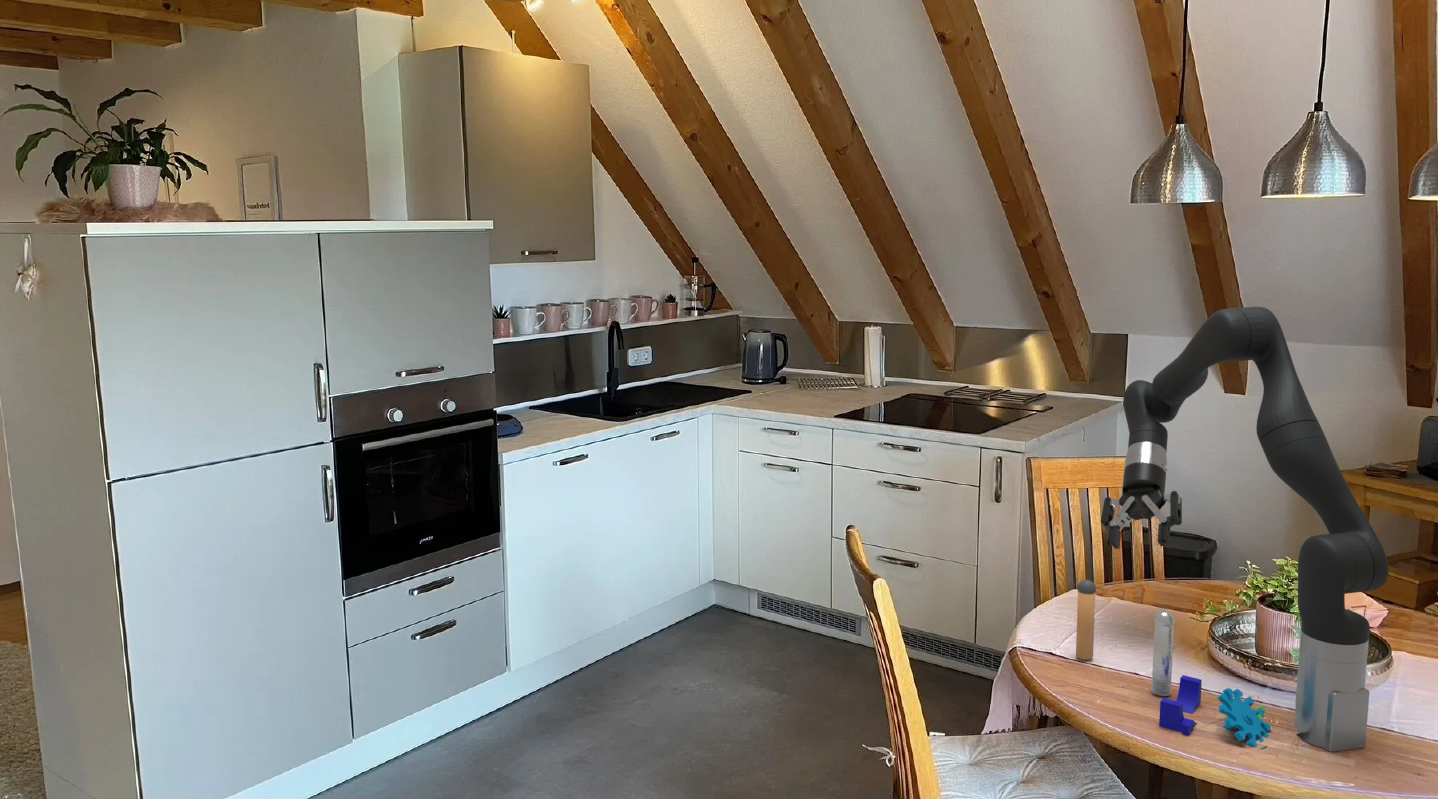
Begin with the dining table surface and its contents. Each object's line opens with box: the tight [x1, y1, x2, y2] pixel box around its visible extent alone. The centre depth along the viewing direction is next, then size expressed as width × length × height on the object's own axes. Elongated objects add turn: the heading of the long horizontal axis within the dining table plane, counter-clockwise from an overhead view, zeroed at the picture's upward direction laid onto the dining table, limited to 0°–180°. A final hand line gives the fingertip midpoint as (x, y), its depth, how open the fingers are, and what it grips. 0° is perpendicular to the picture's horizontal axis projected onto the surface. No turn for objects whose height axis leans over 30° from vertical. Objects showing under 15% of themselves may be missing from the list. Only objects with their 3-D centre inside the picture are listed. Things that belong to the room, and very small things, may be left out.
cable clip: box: [1158, 674, 1203, 737], centre depth 173 cm, size 12×4×6 cm, turn 141°
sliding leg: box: [1075, 579, 1097, 661], centre depth 195 cm, size 3×3×15 cm
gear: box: [1217, 687, 1271, 750], centre depth 169 cm, size 11×6×10 cm
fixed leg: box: [1151, 609, 1176, 697], centre depth 180 cm, size 3×3×15 cm
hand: (1138, 545), depth 196 cm, fingers open, 8 cm apart
